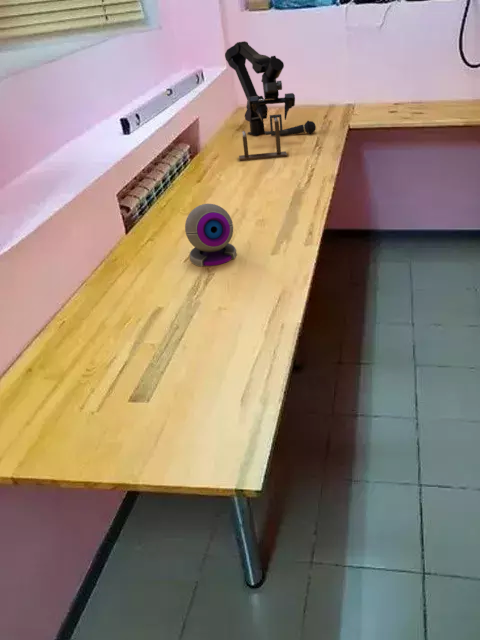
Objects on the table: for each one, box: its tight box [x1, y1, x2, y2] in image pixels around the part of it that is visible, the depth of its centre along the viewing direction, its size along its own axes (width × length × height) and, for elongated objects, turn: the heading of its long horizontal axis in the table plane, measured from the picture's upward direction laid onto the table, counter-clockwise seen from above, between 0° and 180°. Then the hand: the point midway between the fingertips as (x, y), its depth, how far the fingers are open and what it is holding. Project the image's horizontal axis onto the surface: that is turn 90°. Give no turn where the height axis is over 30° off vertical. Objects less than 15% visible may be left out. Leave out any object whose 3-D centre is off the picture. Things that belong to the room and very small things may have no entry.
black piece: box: [264, 113, 288, 136], centre depth 246 cm, size 2×9×7 cm, turn 96°
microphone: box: [270, 120, 317, 137], centre depth 273 cm, size 6×6×20 cm
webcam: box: [184, 203, 238, 267], centre depth 169 cm, size 13×13×15 cm
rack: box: [238, 117, 288, 162], centre depth 246 cm, size 8×19×14 cm, turn 96°
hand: (274, 120), depth 251 cm, fingers open, 9 cm apart
